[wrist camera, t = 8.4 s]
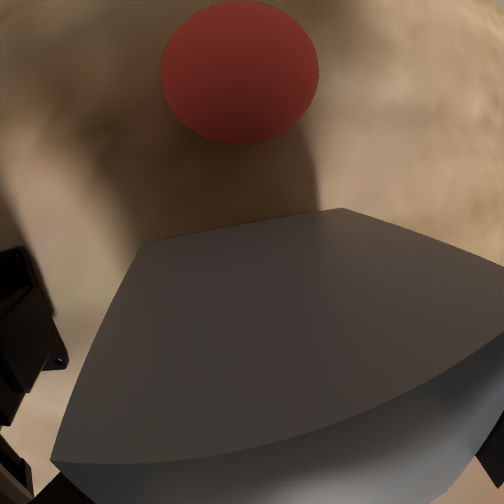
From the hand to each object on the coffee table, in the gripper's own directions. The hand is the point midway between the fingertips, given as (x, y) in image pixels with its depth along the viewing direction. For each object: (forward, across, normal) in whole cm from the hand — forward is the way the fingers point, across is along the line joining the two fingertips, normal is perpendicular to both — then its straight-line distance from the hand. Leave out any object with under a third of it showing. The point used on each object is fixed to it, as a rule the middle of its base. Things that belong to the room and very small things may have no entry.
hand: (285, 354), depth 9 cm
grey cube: (+3, 0, 0) cm, 3 cm away
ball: (+2, 0, -9) cm, 9 cm away
